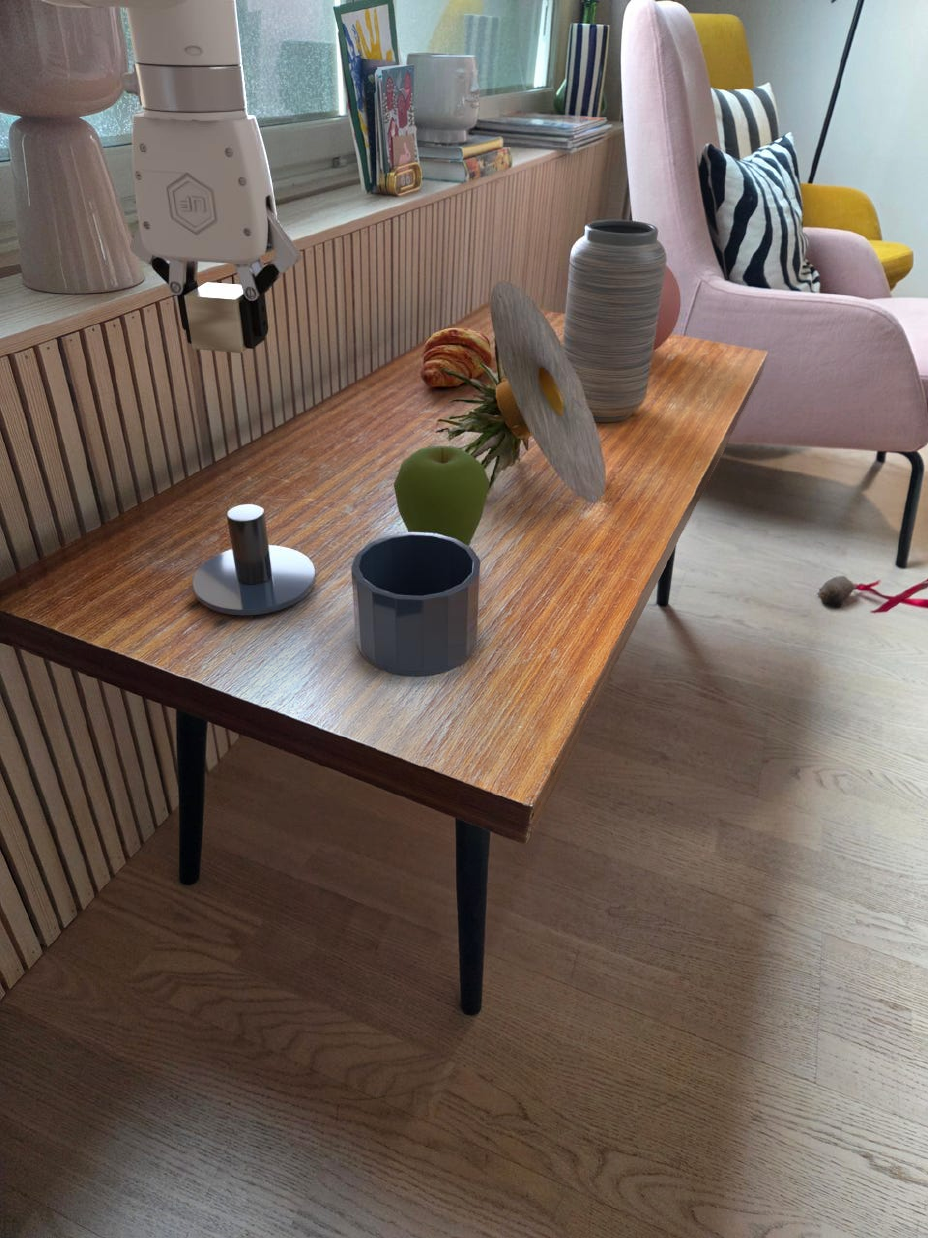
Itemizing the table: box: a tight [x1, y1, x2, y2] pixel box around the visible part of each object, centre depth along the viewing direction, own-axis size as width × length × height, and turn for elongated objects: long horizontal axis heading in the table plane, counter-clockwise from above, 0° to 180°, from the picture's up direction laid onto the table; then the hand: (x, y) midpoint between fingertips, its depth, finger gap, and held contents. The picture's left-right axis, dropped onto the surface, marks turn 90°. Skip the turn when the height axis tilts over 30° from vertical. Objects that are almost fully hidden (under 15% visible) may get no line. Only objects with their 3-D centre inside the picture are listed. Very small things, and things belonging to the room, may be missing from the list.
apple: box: [393, 445, 490, 547], centre depth 80 cm, size 9×8×12 cm
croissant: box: [420, 327, 493, 388], centre depth 125 cm, size 21×10×8 cm, turn 158°
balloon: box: [653, 264, 682, 352], centre depth 127 cm, size 15×20×15 cm
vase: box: [561, 219, 667, 423], centre depth 109 cm, size 12×12×23 cm
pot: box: [350, 531, 481, 677], centre depth 71 cm, size 10×10×8 cm
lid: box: [191, 503, 317, 616], centre depth 77 cm, size 11×11×8 cm
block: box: [184, 281, 248, 354], centre depth 73 cm, size 4×4×4 cm
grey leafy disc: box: [435, 280, 607, 503], centre depth 95 cm, size 25×18×25 cm
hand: (227, 339), depth 74 cm, fingers closed on block, 4 cm apart
